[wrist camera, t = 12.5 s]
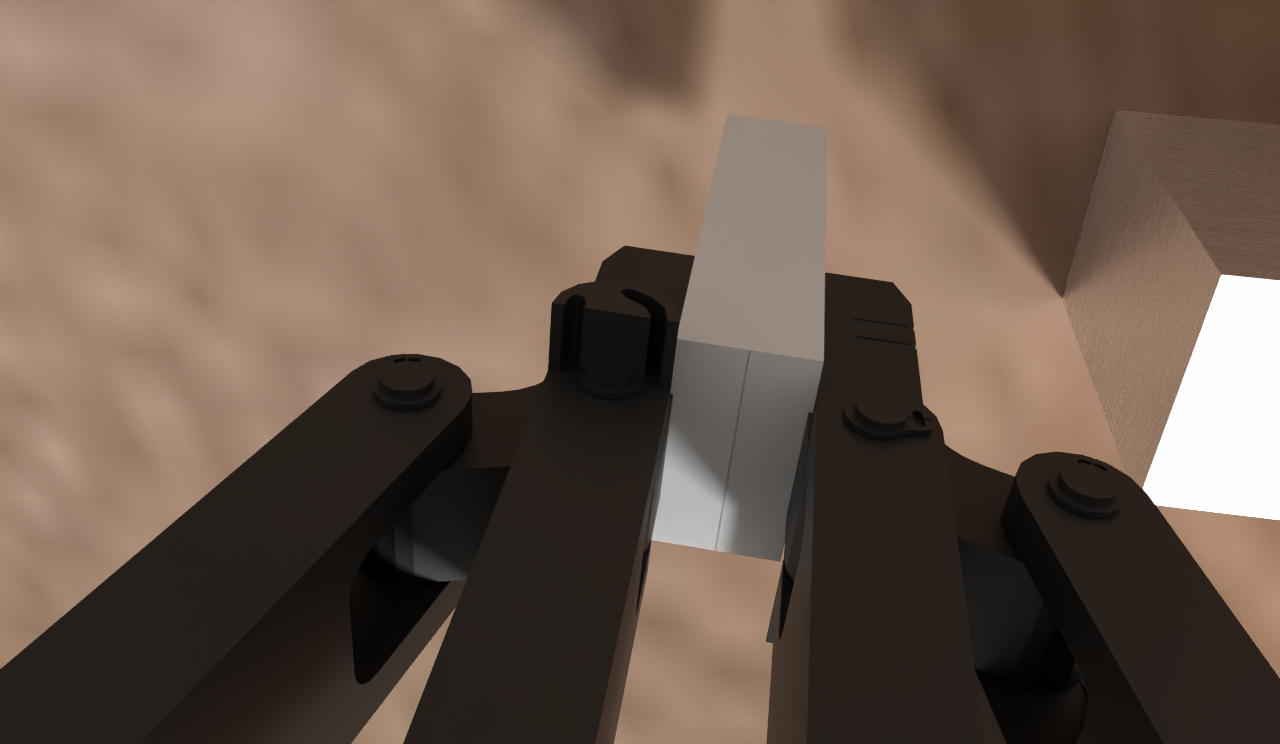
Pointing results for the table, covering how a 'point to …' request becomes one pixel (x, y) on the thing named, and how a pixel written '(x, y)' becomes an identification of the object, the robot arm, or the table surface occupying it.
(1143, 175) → the link bar
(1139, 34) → the table surface
